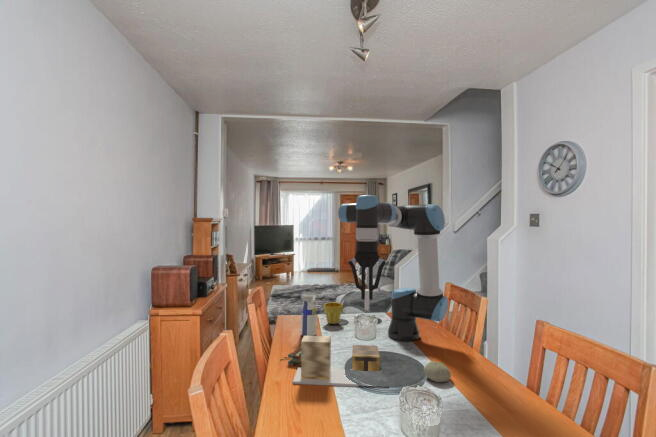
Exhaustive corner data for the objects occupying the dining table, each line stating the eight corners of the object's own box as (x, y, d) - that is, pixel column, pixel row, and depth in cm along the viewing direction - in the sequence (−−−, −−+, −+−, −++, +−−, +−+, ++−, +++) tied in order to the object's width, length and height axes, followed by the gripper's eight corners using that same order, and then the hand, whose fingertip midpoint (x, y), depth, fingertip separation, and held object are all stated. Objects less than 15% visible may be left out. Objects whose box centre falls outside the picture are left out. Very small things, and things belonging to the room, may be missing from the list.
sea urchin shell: (449, 366, 123) (451, 358, 117) (449, 389, 118) (451, 382, 112) (424, 362, 126) (424, 354, 120) (423, 384, 121) (423, 377, 115)
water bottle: (320, 332, 168) (320, 283, 168) (310, 337, 160) (311, 285, 161) (307, 329, 172) (307, 281, 172) (297, 334, 165) (297, 284, 165)
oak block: (330, 371, 123) (330, 336, 123) (329, 379, 117) (329, 342, 117) (303, 370, 123) (303, 335, 123) (301, 378, 117) (301, 341, 117)
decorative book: (292, 352, 143) (292, 341, 143) (329, 360, 135) (329, 348, 135) (274, 364, 131) (274, 352, 131) (312, 374, 123) (312, 360, 123)
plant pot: (336, 326, 178) (336, 307, 178) (320, 323, 183) (320, 305, 183) (345, 321, 187) (345, 303, 187) (329, 318, 192) (330, 301, 192)
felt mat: (385, 373, 123) (385, 370, 123) (389, 387, 112) (389, 385, 112) (298, 369, 126) (298, 367, 126) (292, 383, 115) (292, 381, 115)
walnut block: (379, 373, 121) (377, 361, 134) (379, 356, 122) (377, 345, 135) (352, 372, 122) (352, 360, 135) (352, 355, 122) (352, 344, 135)
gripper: (385, 239, 117) (385, 306, 117) (348, 239, 118) (348, 305, 118) (387, 241, 110) (387, 312, 110) (347, 240, 111) (347, 311, 111)
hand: (366, 309), depth 114 cm, fingers closed
